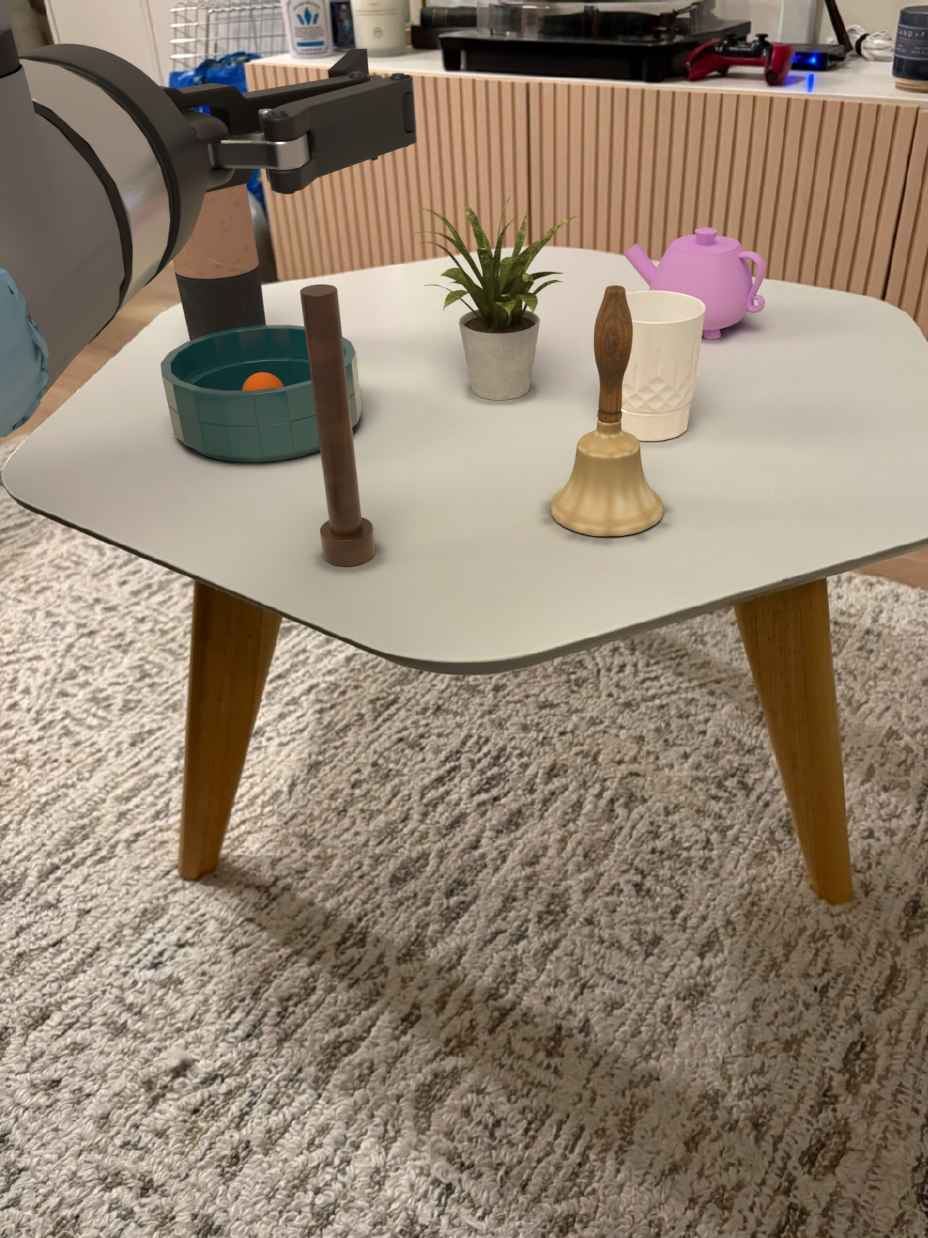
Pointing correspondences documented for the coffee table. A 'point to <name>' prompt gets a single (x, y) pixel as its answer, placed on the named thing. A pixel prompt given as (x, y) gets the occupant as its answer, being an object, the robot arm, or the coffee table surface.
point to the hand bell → (609, 444)
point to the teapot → (706, 276)
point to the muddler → (334, 430)
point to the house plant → (498, 310)
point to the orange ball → (261, 382)
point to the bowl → (248, 394)
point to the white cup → (661, 363)
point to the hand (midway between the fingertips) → (219, 82)
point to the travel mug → (221, 267)
